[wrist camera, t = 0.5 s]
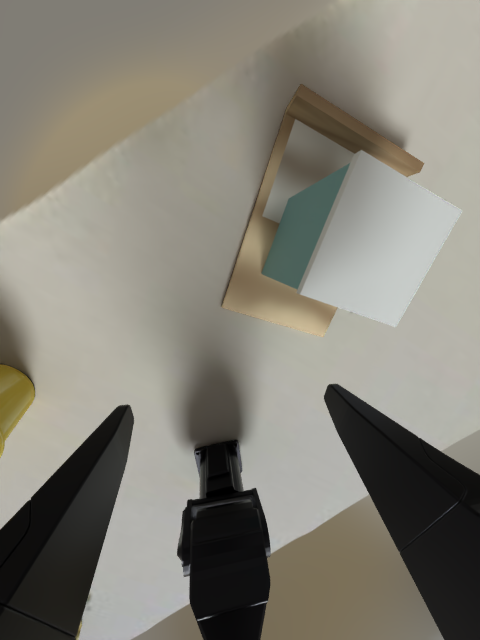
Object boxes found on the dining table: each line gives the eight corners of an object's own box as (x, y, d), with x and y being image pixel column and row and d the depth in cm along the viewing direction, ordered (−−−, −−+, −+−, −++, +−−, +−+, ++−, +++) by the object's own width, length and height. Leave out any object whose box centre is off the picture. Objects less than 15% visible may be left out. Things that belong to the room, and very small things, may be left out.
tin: (321, 296, 26) (395, 327, 16) (258, 275, 23) (300, 294, 14) (352, 226, 23) (462, 210, 14) (287, 195, 21) (361, 149, 11)
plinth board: (320, 335, 28) (334, 345, 25) (221, 306, 24) (223, 313, 22) (397, 173, 23) (424, 163, 20) (286, 107, 20) (300, 83, 17)
